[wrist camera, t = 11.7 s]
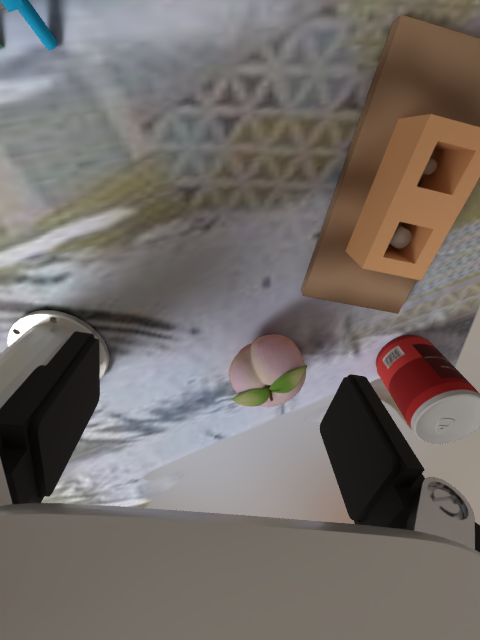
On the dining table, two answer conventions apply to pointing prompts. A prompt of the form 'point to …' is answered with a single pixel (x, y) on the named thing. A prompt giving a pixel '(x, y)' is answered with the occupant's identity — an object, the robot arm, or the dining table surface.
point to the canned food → (428, 390)
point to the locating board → (372, 141)
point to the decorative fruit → (267, 372)
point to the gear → (31, 20)
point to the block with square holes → (416, 194)
